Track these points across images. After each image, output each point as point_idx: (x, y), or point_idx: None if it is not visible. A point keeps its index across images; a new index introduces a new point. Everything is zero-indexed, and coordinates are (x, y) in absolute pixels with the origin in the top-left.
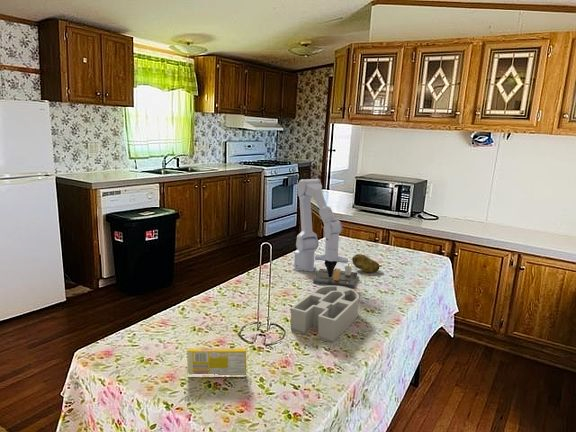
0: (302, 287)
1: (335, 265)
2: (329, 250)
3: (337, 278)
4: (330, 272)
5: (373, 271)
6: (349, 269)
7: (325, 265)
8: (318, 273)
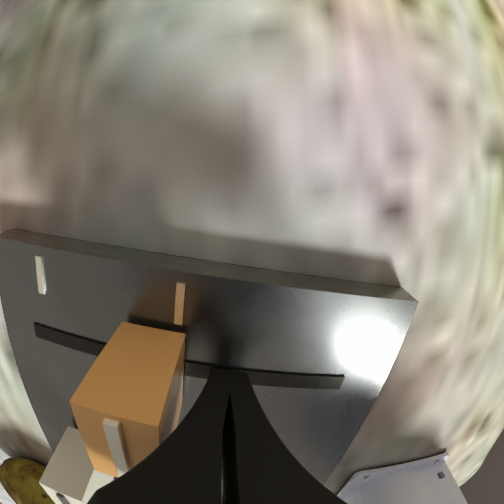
0: (483, 171)
1: (91, 498)
2: None
3: (130, 339)
4: (222, 411)
5: (17, 457)
6: (56, 465)
7: (341, 501)
8: (337, 448)
